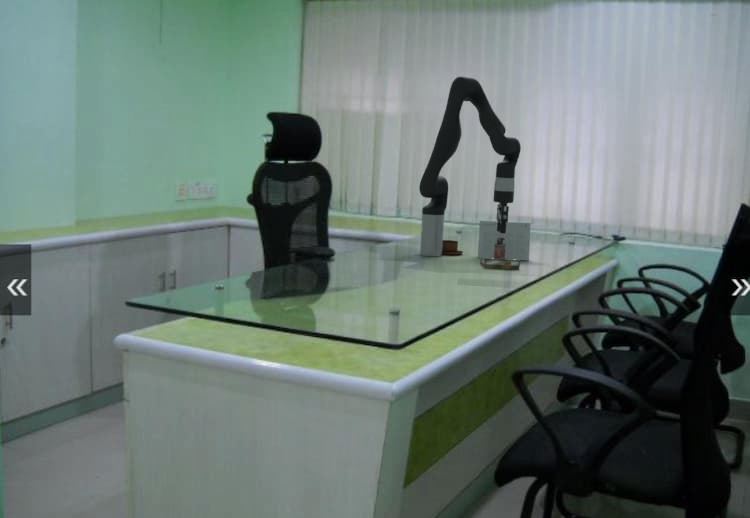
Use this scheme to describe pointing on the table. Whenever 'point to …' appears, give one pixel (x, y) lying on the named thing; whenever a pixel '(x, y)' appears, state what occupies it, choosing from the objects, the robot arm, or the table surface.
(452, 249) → the cup and saucer
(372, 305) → the table surface
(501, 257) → the lighter
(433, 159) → the robot arm
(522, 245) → the skincare box
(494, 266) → the shelf board
